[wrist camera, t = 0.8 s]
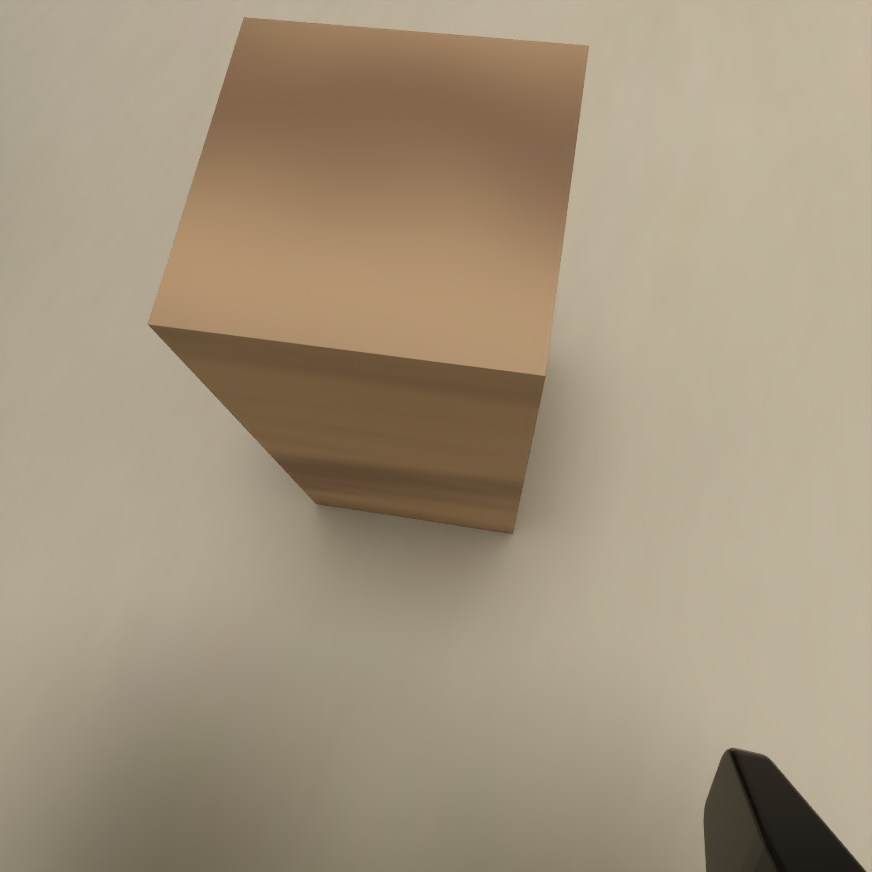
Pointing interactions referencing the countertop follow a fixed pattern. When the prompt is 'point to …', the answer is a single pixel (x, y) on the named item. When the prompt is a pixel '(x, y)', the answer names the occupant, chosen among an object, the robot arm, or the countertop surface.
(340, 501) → the block
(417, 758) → the countertop surface
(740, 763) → the robot arm
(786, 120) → the countertop surface
